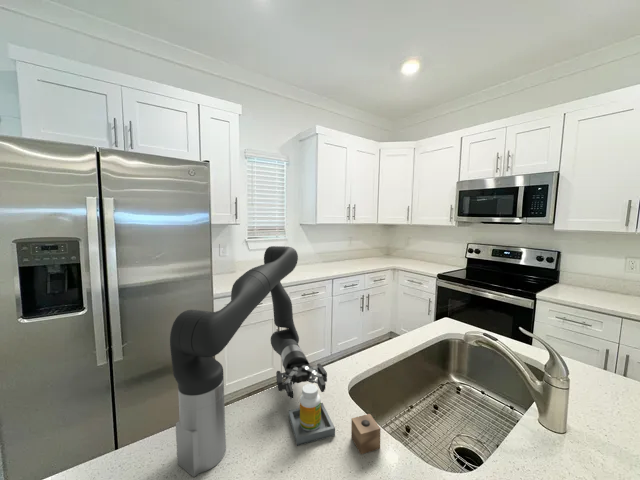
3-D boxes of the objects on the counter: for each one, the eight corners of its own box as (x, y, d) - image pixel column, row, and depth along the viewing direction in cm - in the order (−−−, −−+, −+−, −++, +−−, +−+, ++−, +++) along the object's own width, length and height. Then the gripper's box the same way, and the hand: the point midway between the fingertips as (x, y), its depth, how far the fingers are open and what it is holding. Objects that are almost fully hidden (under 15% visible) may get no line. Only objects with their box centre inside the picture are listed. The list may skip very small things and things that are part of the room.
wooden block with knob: (360, 454, 61) (361, 433, 61) (351, 437, 66) (351, 418, 65) (380, 448, 63) (380, 428, 62) (369, 432, 67) (369, 413, 67)
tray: (297, 446, 63) (297, 438, 63) (288, 417, 72) (288, 410, 72) (335, 435, 66) (335, 427, 66) (322, 409, 75) (322, 402, 75)
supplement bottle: (318, 433, 66) (318, 396, 65) (297, 430, 67) (297, 393, 66) (322, 417, 72) (322, 383, 71) (303, 415, 73) (302, 380, 72)
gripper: (272, 353, 84) (281, 383, 69) (315, 346, 89) (333, 373, 73) (272, 376, 85) (281, 411, 69) (315, 368, 89) (333, 399, 74)
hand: (308, 392), depth 71 cm, fingers open, 8 cm apart
